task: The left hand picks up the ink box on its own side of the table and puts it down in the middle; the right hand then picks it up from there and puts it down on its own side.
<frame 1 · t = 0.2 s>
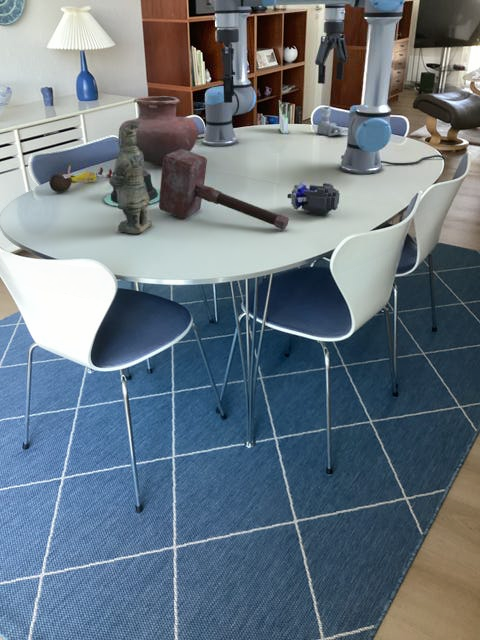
left hand: (330, 81, 221), 28 cm above the table, tool pointing down, fingers open, 13 cm apart
right hand: (229, 99, 188), 28 cm above the table, tool pointing down, fingers open, 13 cm apart
clay pot: (162, 164, 224), on the table
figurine: (82, 185, 201), on the table
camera: (331, 135, 263), on the table
chocolate cake: (134, 197, 187), on the table
ink box: (283, 131, 272), on the table
toy: (312, 213, 171), on the table
statue: (134, 229, 162), on the table
sledgehammer: (224, 220, 166), on the table
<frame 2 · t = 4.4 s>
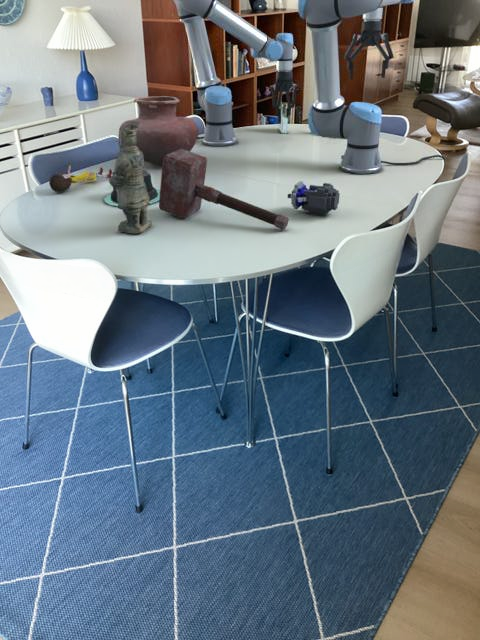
left hand: (283, 122, 270), 4 cm above the table, tool pointing down, fingers closed on ink box, 3 cm apart
right hand: (366, 78, 231), 27 cm above the table, tool pointing down, fingers open, 13 cm apart
ink box: (282, 131, 272), on the table, touching left hand
everything else where it was.
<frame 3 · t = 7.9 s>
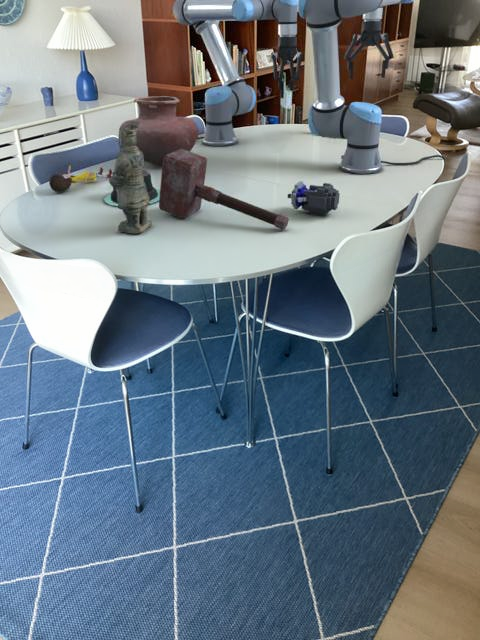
left hand: (286, 97, 237), 20 cm above the table, tool pointing down, fingers closed on ink box, 3 cm apart
right hand: (366, 78, 231), 27 cm above the table, tool pointing down, fingers open, 13 cm apart
ink box: (285, 107, 239), point 16 cm above the table, touching left hand
everything else where it was.
when the left hand's fingers open (6 cm above the table, at t = 11.7 s): ink box drops 2 cm, on the table.
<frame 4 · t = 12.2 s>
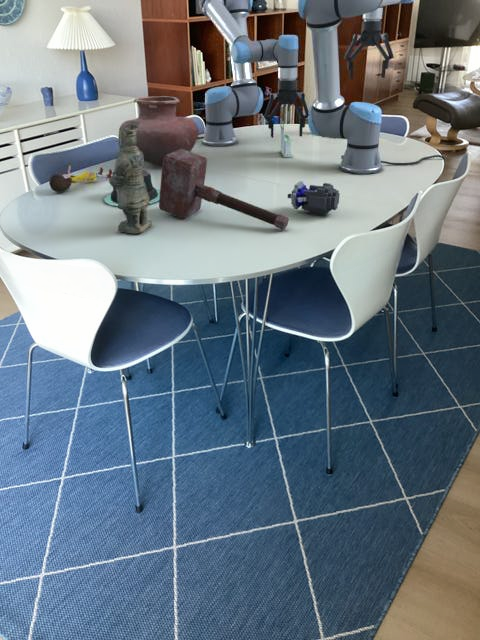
left hand: (286, 136, 229), 7 cm above the table, tool pointing down, fingers open, 11 cm apart
right hand: (366, 78, 231), 27 cm above the table, tool pointing down, fingers open, 13 cm apart
ink box: (285, 154, 233), on the table
everything else where it was.
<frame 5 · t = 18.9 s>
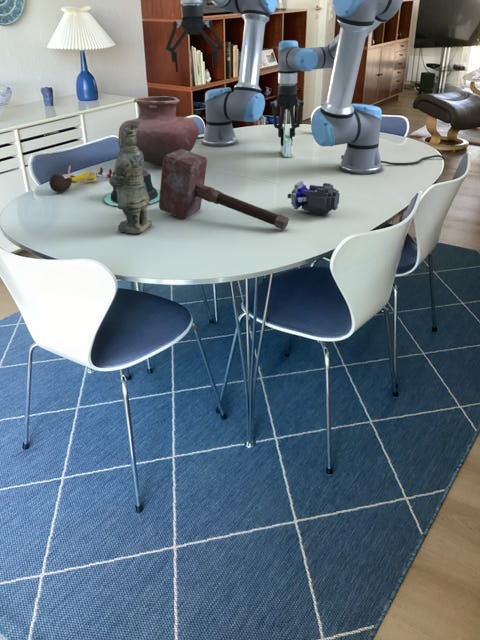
left hand: (195, 71, 204), 34 cm above the table, tool pointing down, fingers open, 13 cm apart
right hand: (286, 144, 231), 4 cm above the table, tool pointing down, fingers closed on ink box, 3 cm apart
ink box: (285, 154, 233), on the table, touching right hand
everything else where it was.
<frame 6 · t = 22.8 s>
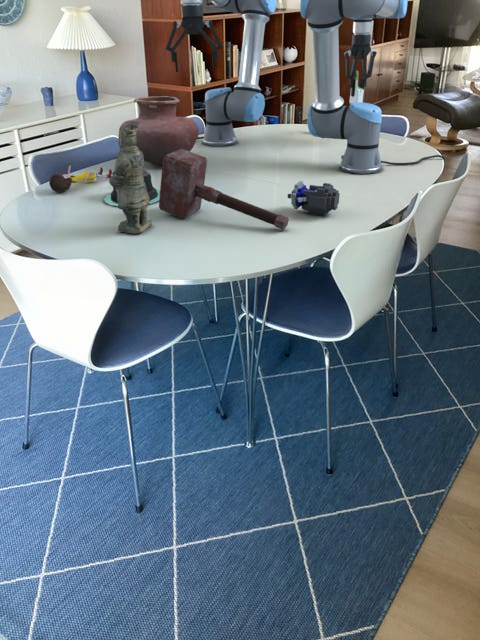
left hand: (195, 71, 204), 34 cm above the table, tool pointing down, fingers open, 13 cm apart
right hand: (356, 95, 235), 20 cm above the table, tool pointing down, fingers closed on ink box, 3 cm apart
ink box: (355, 105, 238), point 16 cm above the table, touching right hand
everything else where it was.
when the right hand's fingers open (6 cm above the table, at t = 26.7 s): ink box drops 2 cm, on the table.
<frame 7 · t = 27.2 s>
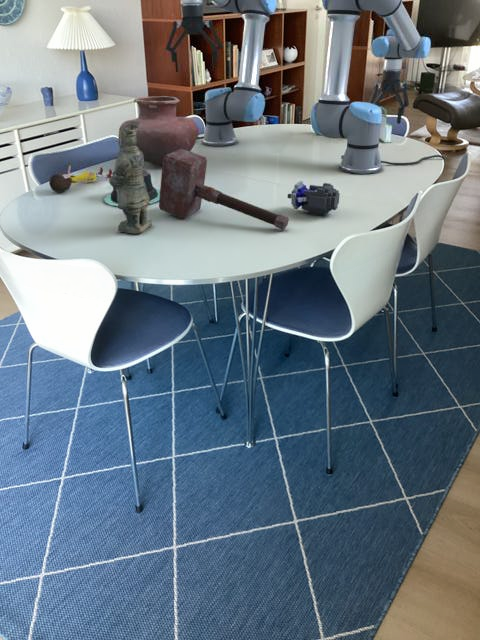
left hand: (195, 71, 204), 34 cm above the table, tool pointing down, fingers open, 13 cm apart
right hand: (386, 123, 248), 7 cm above the table, tool pointing down, fingers open, 10 cm apart
ink box: (383, 140, 252), on the table
everything else where it was.
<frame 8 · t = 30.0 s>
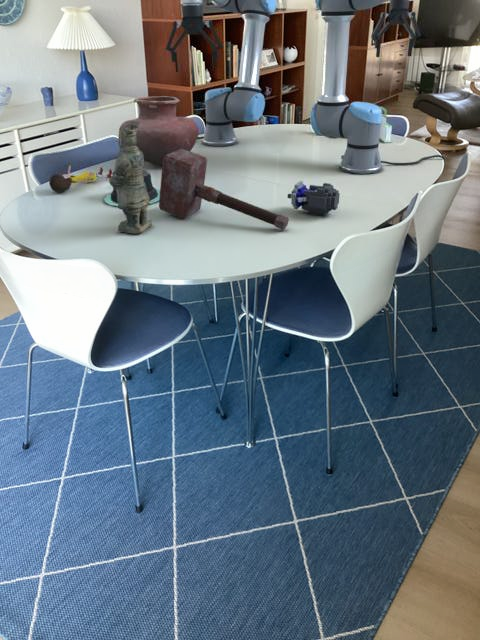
left hand: (195, 71, 204), 34 cm above the table, tool pointing down, fingers open, 13 cm apart
right hand: (393, 56, 234), 34 cm above the table, tool pointing down, fingers open, 13 cm apart
nothing on the table moved.
at the end: ink box inside the target area (0.4 cm from its centre), on the table; ink box tilted 0°; the two hands never held the ink box at the same time; the left hand is holding nothing; the right hand is holding nothing; ink box at rest at the end (0.0 cm/s) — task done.
